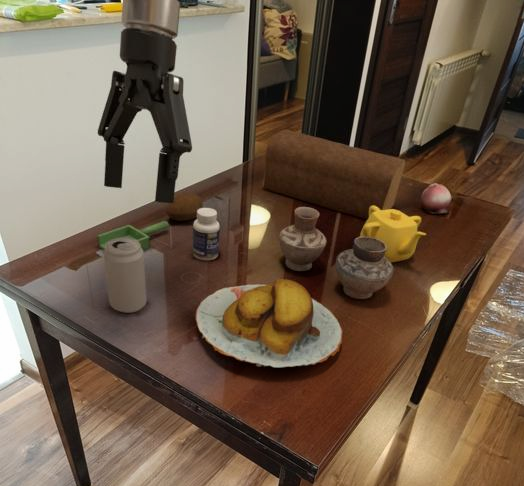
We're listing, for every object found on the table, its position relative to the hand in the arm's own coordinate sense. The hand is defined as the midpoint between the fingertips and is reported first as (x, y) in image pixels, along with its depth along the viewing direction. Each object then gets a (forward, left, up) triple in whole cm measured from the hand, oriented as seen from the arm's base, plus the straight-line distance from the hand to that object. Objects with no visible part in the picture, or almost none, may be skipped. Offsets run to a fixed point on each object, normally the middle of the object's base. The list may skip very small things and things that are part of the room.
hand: (137, 194), depth 74 cm
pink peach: (+16, +86, -21) cm, 90 cm away
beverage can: (-2, -2, -21) cm, 21 cm away
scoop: (-19, +14, -21) cm, 31 cm away
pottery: (+17, +34, -21) cm, 43 cm away
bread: (-7, +68, -21) cm, 71 cm away
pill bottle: (-6, +21, -21) cm, 30 cm away
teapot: (+20, +53, -21) cm, 60 cm away
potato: (-21, +29, -21) cm, 41 cm away
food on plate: (+20, +11, -21) cm, 31 cm away
